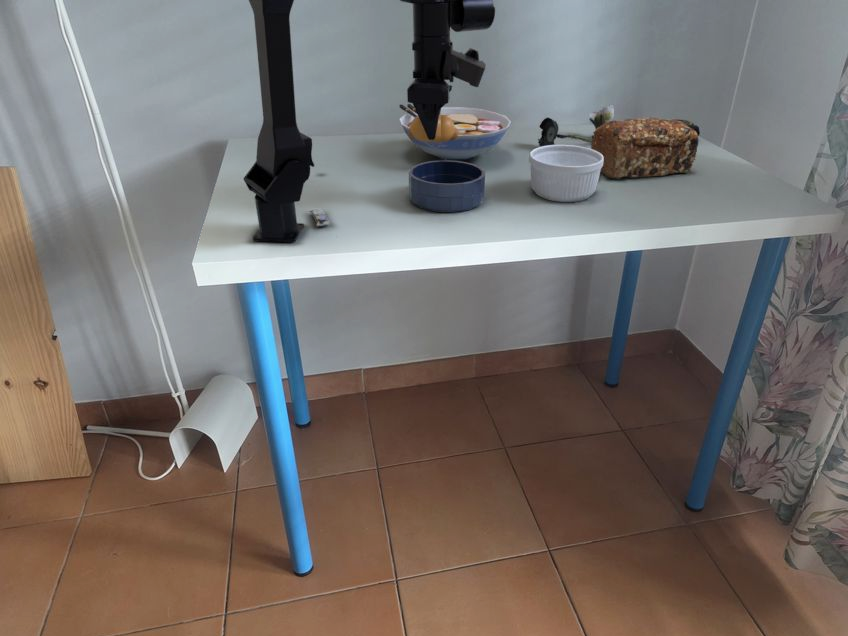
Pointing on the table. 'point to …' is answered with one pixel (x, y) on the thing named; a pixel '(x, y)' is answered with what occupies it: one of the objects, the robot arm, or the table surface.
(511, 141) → the table surface
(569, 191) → the ramekin
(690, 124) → the tape measure
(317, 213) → the granola bar
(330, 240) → the table surface
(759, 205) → the table surface
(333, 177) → the table surface
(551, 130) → the artificial flower
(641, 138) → the bread
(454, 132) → the croissant
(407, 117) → the ramen bowl
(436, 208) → the bowl
